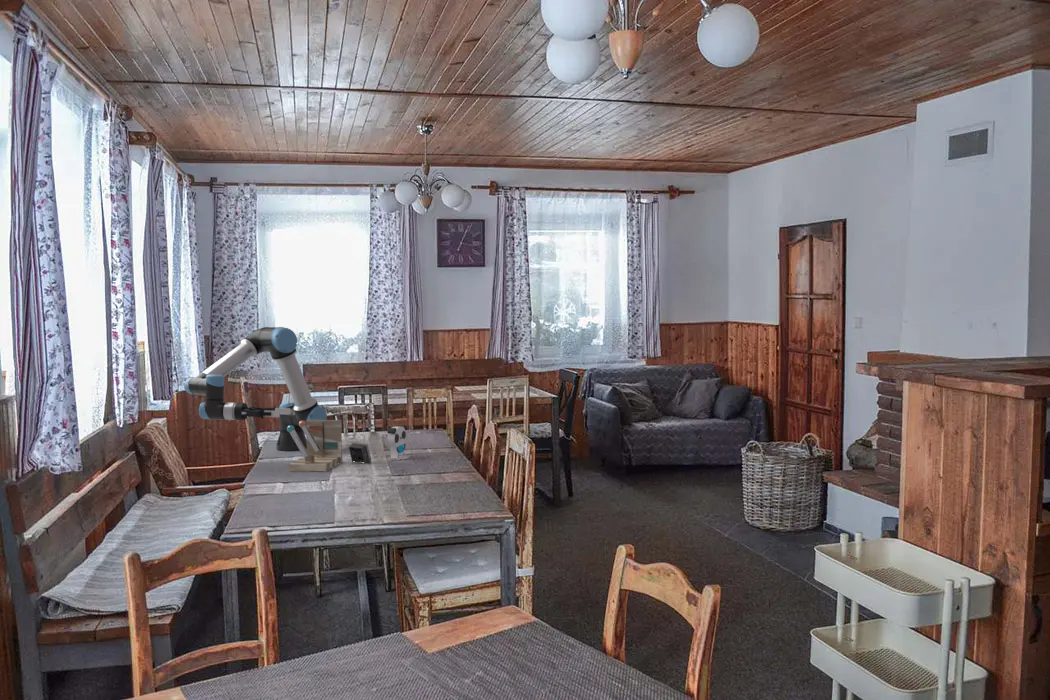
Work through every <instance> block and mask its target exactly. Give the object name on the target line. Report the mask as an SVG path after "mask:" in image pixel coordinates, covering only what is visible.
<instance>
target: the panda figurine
mask: <svg viewBox="0 0 1050 700" xmlns="http://www.w3.org/2000/svg"><path fill="white" fill-rule="evenodd" d="M406 428H407V427H406V424H397V425H396V426H395V425H394V426H391V427H388V428H387V431H386V432H387V444H388V447H389V449H390V451H389V452H390V456H391V458H399V455H401V456H402V455H404V456H405V449H406V443H405V442H406V439H407V438H406V437H407V433H406Z"/></svg>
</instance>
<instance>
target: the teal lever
mask: <svg viewBox="0 0 1050 700" xmlns="http://www.w3.org/2000/svg"><path fill="white" fill-rule="evenodd" d="M287 431H288V432H289V433H290V434H291V436H292V438H293V439H294V441H295V443H296V445H297V446H298V448H299V450H298V451H299V452H300V454H301V455H302V457H304V458H305V457H310V455H309V454H308V452H307V448H305V447H304V445H303V443H302V442H301V440H300V438H299V436H298V435H297V433H296V431H295V428H294V426H293V425H289V426H288V427H287Z"/></svg>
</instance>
